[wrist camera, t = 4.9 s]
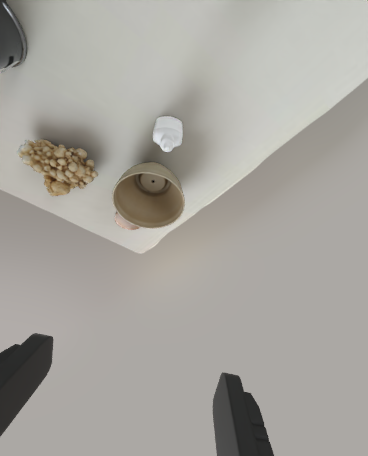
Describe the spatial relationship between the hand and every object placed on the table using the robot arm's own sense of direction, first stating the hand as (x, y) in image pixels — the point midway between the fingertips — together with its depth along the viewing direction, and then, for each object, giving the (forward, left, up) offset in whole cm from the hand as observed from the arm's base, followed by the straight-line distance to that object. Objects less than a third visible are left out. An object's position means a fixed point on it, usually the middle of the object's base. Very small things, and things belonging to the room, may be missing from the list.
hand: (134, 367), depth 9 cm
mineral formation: (+18, -20, -43) cm, 51 cm away
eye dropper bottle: (+3, +1, -43) cm, 43 cm away
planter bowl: (+17, 0, -43) cm, 46 cm away
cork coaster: (+34, -5, -43) cm, 55 cm away
